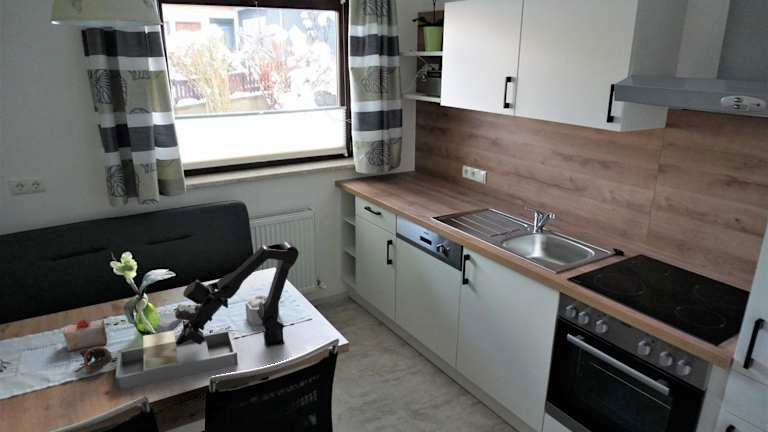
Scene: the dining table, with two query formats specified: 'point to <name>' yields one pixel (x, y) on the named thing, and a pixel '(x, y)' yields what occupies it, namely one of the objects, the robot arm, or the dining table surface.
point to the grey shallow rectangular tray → (190, 361)
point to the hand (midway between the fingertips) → (176, 344)
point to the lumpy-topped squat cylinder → (255, 309)
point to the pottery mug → (96, 354)
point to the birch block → (160, 349)
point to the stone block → (167, 322)
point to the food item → (85, 335)
